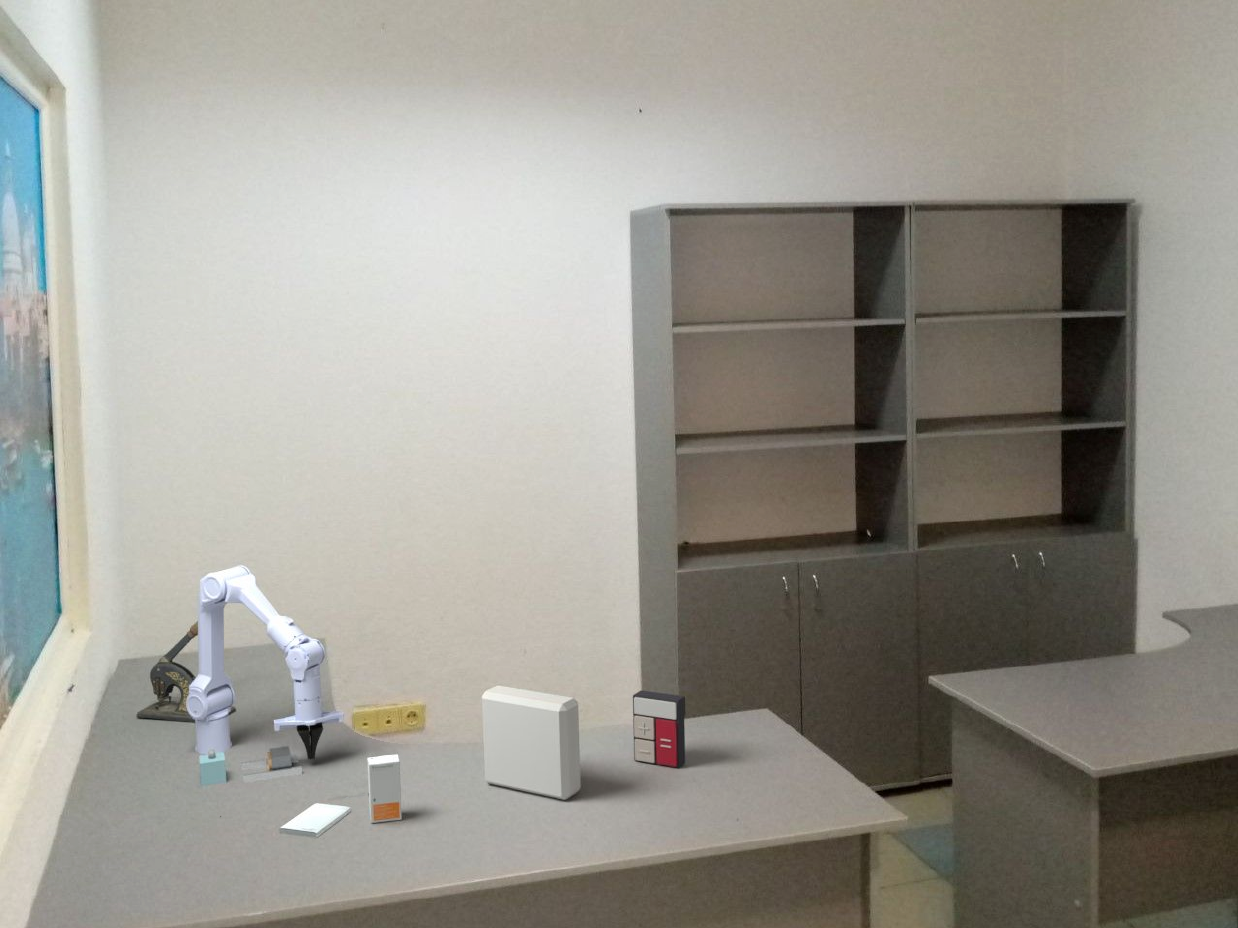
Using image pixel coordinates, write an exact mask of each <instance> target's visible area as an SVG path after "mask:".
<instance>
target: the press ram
mask: <svg viewBox="0 0 1238 928" xmlns="http://www.w3.org/2000/svg"><path fill="white" fill-rule="evenodd" d="M291 755H292V754H291V751H290V746H288V745H286V746H285V745H284V746H278V747H272V748H271V747H270V748H269V750H268V751H266V759H267V771H271V770H278V769H284V768H291V767H293V766H292V763H291Z"/></svg>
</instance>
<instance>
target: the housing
mask: <svg viewBox="0 0 1238 928" xmlns="http://www.w3.org/2000/svg"><path fill="white" fill-rule="evenodd" d="M198 759H199V771H200V772H199V773H200V785H201V787H203V786H210V785H216V784H222V783H223V784H224V783H227V771H226V770H227V768H226V757H225V752H222V753H215V750H209V751H208V755H207V754H200V755H199V756H198Z"/></svg>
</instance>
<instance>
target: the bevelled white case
mask: <svg viewBox="0 0 1238 928" xmlns="http://www.w3.org/2000/svg"><path fill="white" fill-rule="evenodd" d="M481 706H482V707H481V708H482V709H481V710H482V732H483V738H482V739H483V756H484V757H483V761H484V781H485V782H487V784H489V785H494V786H498V787H503V788H506V789H507V788H508V789H512V790H517V791H520V792H526V793H529V794H533V795H534V794H535V795H540V796H544V797H548V798H554V799H556V800H557V799H558V800H561V801H566V800H568V799H570V798H571V797H573V796H575V795H576V794H577V793H578V792H579V791H580V790H581V788H582V787H581V755H580V723H579V722H580V716H579V703H578V700H576V699H575V698H574V697H571V696H565V695H558V694H552V693H545V692H540V691H534V690H528V689H522V688H521V689H520V688H515V687H509V686H503V685H496V686H494V687H491V688H489V689H487V690H485V691H484V693H483V694H482V695H481Z"/></svg>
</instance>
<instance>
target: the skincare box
mask: <svg viewBox="0 0 1238 928" xmlns="http://www.w3.org/2000/svg"><path fill="white" fill-rule="evenodd" d="M366 759H367V783H368V804H369V805H368V807H369V809H368V810H369V819H370V823H371V824H375V823H383V822H384V823H385V822H391V821H401V820H402V790H401V789H402V788H401V786H402V785H401V762H400V757H399V754H388V755H386V754H385V755H378V756H373V757H371V756H370V757H367V758H366Z"/></svg>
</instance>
